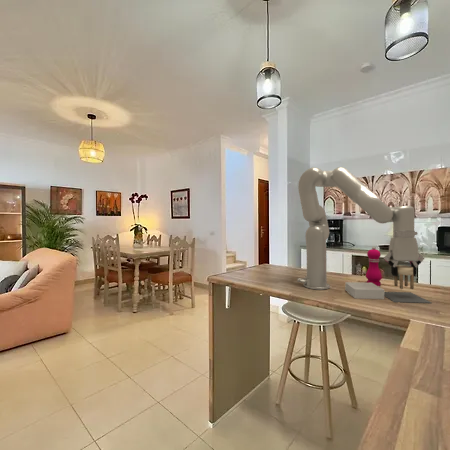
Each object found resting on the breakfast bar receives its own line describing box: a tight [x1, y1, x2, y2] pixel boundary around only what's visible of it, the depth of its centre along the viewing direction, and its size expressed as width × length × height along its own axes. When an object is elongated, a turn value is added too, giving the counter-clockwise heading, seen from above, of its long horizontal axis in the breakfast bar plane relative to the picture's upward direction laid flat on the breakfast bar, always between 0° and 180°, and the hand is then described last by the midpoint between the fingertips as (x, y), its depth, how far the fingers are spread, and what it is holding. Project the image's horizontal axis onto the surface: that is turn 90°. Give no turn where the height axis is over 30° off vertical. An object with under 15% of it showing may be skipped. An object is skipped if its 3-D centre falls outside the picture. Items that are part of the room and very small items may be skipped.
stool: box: [393, 264, 415, 290], centre depth 110 cm, size 7×7×9 cm
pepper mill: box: [365, 246, 383, 287], centre depth 132 cm, size 7×7×20 cm
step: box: [344, 281, 385, 300], centre depth 116 cm, size 12×12×4 cm
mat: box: [384, 291, 432, 304], centre depth 111 cm, size 14×14×1 cm
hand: (403, 275), depth 110 cm, fingers closed on stool, 6 cm apart
